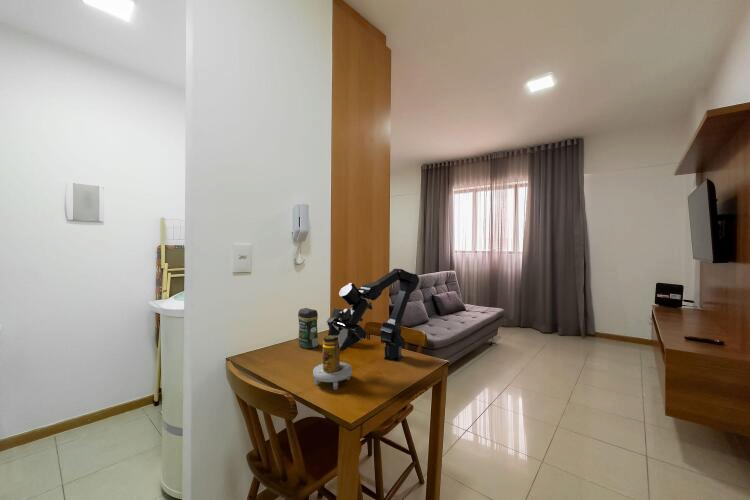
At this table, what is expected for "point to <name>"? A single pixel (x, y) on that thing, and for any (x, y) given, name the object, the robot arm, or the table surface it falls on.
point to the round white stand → (332, 375)
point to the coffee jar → (308, 328)
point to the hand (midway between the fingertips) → (333, 347)
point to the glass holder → (342, 336)
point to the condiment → (331, 355)
